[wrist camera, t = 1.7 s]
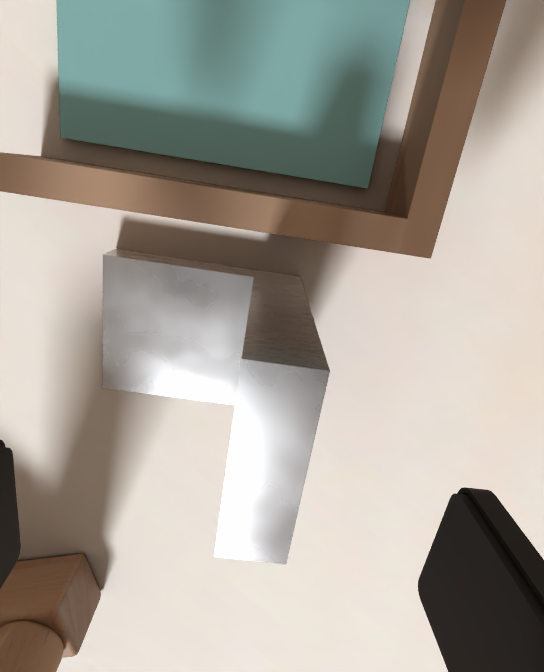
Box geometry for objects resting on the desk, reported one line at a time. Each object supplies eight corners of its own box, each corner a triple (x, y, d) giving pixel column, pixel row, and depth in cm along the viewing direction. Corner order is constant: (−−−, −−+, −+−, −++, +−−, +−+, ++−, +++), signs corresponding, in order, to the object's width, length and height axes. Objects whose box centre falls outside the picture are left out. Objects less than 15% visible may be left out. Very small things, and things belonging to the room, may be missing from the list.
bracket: (299, 276, 18) (329, 371, 9) (278, 394, 20) (286, 564, 11) (116, 248, 18) (-40, 320, 9) (114, 373, 20) (-13, 532, 11)
